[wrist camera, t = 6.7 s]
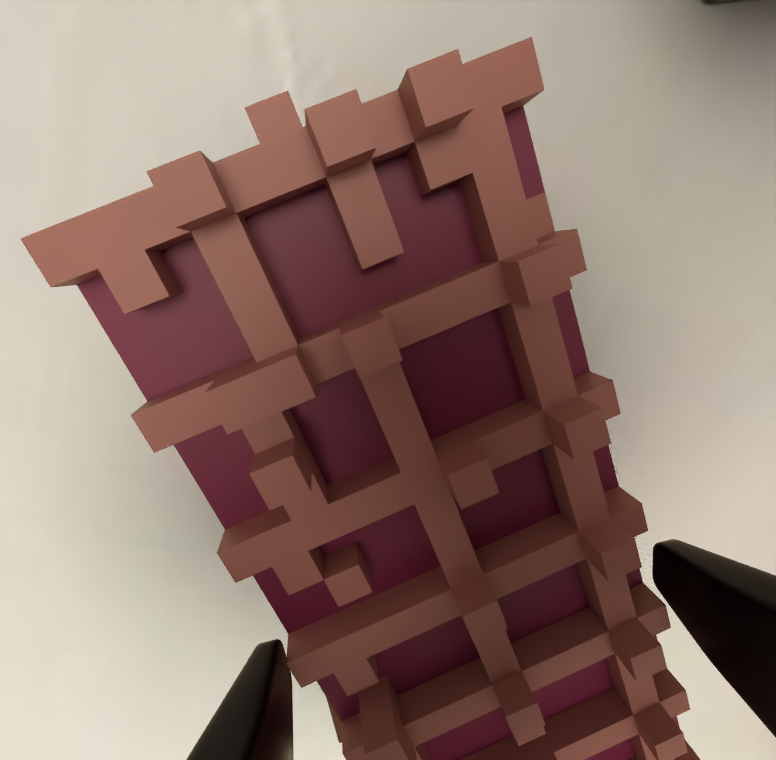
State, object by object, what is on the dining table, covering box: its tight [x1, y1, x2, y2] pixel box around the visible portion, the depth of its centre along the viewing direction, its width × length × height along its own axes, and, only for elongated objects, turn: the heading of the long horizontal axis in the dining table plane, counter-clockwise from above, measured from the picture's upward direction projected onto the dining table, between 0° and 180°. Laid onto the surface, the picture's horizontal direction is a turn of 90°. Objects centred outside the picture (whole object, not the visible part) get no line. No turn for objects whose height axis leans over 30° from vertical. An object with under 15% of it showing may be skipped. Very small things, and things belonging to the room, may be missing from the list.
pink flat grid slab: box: [21, 37, 700, 760], centre depth 9 cm, size 7×19×2 cm, turn 22°
